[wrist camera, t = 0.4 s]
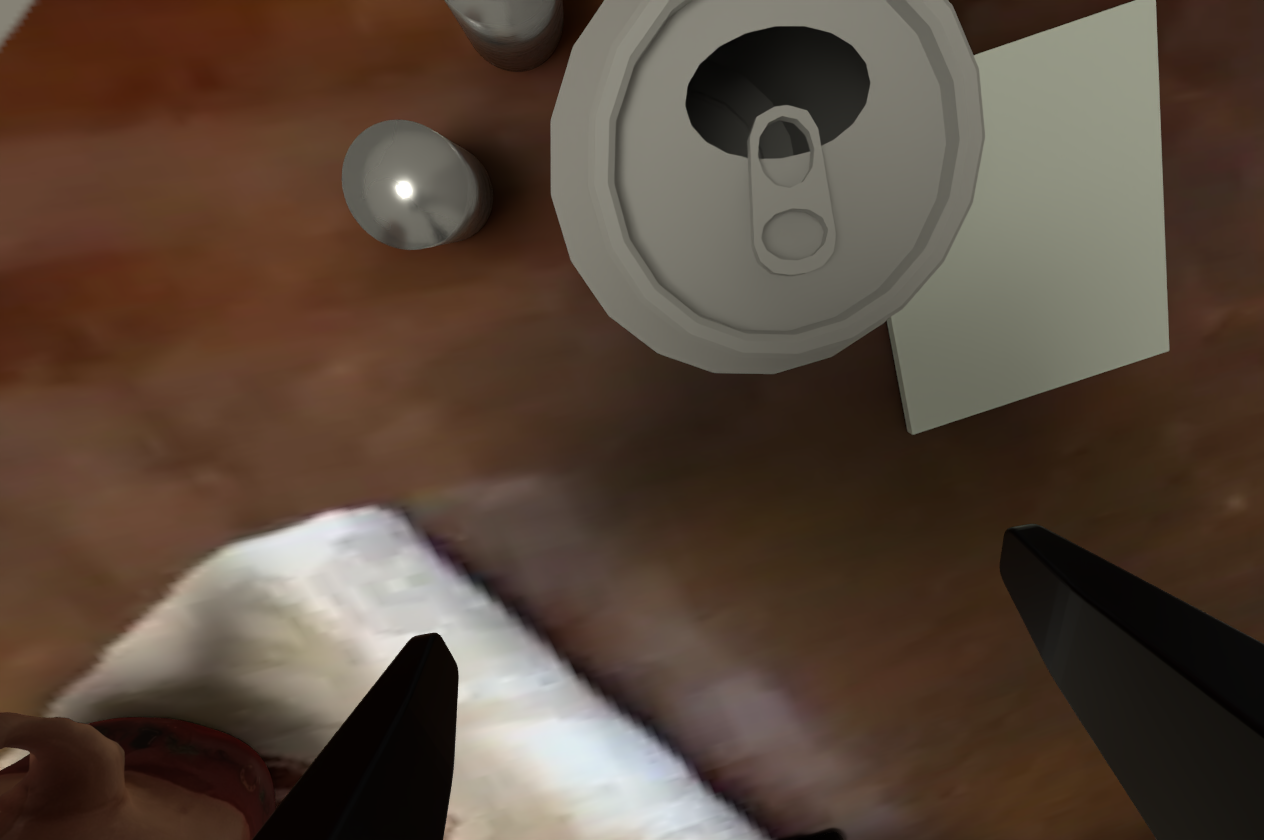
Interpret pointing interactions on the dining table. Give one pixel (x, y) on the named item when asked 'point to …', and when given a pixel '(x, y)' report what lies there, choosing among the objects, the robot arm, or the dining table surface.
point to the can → (764, 169)
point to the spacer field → (443, 140)
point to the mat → (1049, 228)
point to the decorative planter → (130, 781)
